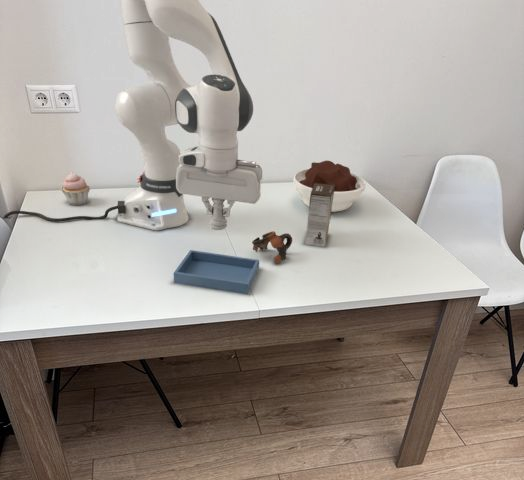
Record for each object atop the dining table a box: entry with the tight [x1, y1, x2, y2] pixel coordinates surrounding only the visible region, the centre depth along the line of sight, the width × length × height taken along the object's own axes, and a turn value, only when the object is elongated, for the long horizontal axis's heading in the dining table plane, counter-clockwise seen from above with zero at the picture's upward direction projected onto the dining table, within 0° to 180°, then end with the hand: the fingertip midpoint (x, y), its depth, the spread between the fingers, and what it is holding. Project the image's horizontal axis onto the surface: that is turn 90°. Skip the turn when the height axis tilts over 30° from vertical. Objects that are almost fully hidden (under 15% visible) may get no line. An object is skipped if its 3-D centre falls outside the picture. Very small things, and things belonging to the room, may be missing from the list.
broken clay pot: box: [251, 231, 293, 265], centre depth 140 cm, size 12×10×8 cm
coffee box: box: [304, 183, 335, 248], centre depth 147 cm, size 9×6×16 cm
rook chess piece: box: [209, 198, 228, 231], centre depth 120 cm, size 4×4×8 cm
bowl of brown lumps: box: [292, 160, 366, 213], centre depth 170 cm, size 25×25×15 cm
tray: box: [173, 249, 260, 295], centre depth 129 cm, size 20×14×3 cm
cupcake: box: [60, 171, 91, 206], centre depth 162 cm, size 9×9×10 cm
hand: (218, 215), depth 120 cm, fingers closed on rook chess piece, 3 cm apart
